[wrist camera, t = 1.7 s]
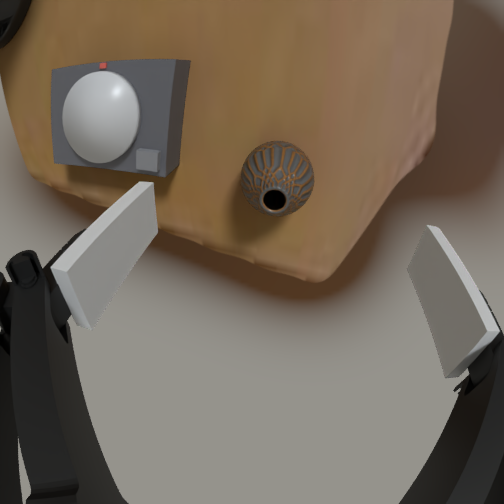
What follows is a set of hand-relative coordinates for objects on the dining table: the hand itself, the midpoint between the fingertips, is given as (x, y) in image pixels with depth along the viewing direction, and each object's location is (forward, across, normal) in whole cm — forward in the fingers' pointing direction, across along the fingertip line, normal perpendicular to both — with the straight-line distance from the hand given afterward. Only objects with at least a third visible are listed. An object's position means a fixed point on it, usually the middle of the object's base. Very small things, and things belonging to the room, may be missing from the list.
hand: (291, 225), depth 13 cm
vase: (+18, -1, -3) cm, 19 cm away
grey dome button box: (+18, -20, +2) cm, 27 cm away
